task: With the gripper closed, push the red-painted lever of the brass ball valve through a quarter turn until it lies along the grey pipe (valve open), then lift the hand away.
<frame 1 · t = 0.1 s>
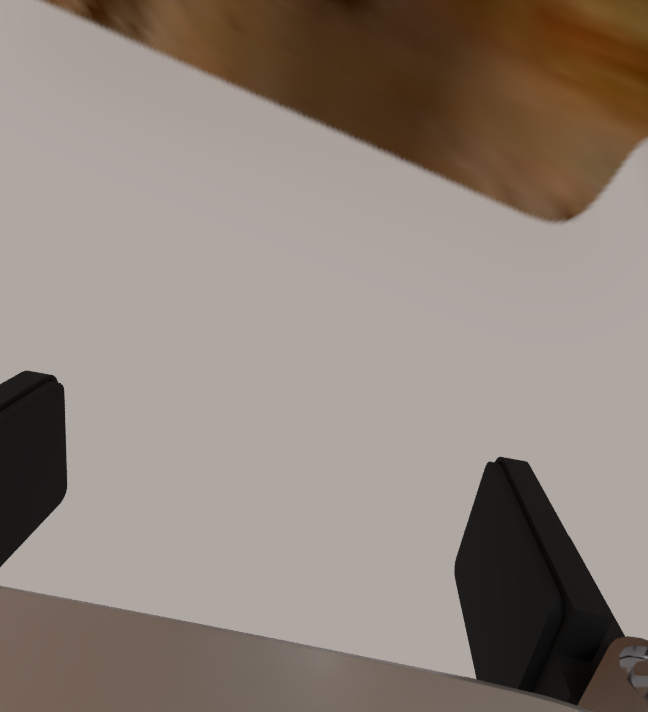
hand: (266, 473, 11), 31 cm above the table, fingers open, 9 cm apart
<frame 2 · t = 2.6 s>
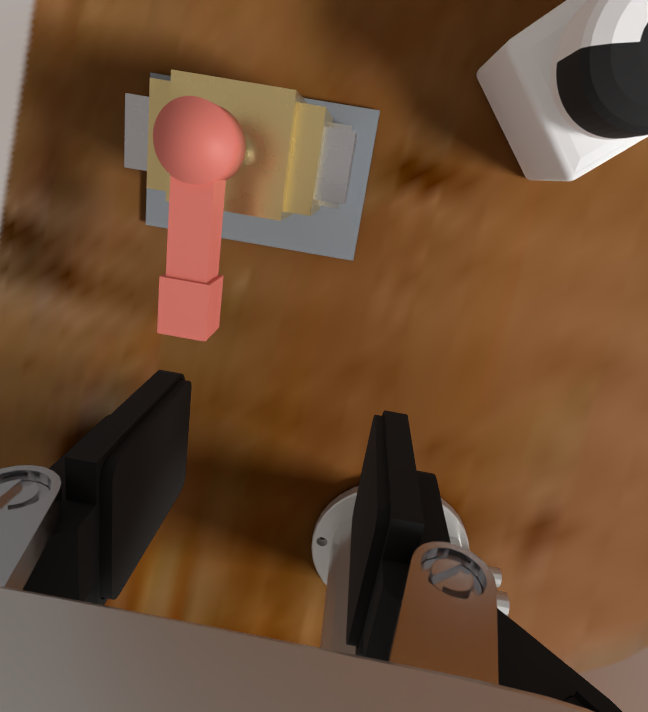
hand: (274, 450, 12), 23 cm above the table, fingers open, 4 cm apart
valve: (257, 153, 31), resting on mat
mat: (258, 170, 32), on the table
lever: (196, 224, 22), point 12 cm above the table, hinge at 0.0°
medicine bottle: (555, 93, 29), on the table
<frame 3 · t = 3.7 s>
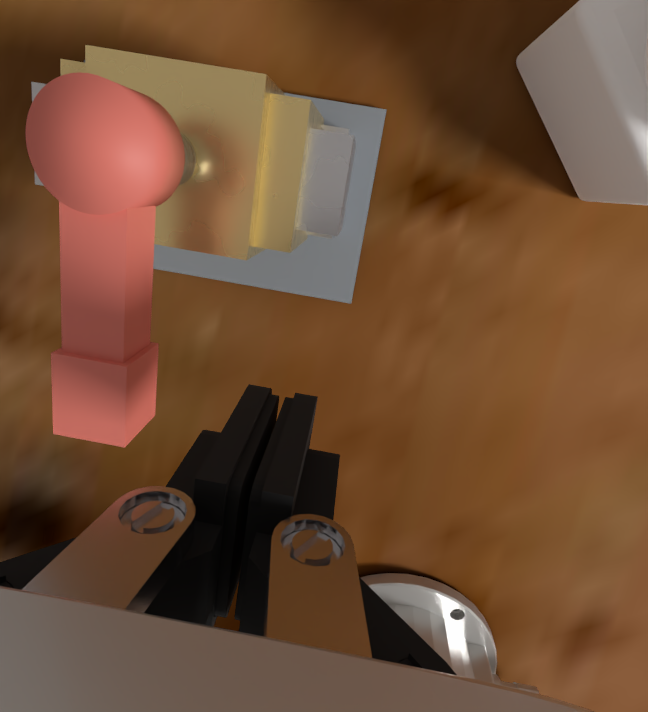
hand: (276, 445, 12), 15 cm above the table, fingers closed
valve: (226, 166, 24), resting on mat
mat: (227, 188, 24), on the table
lever: (109, 272, 14), point 12 cm above the table, hinge at 0.0°
medicine bottle: (621, 87, 22), on the table
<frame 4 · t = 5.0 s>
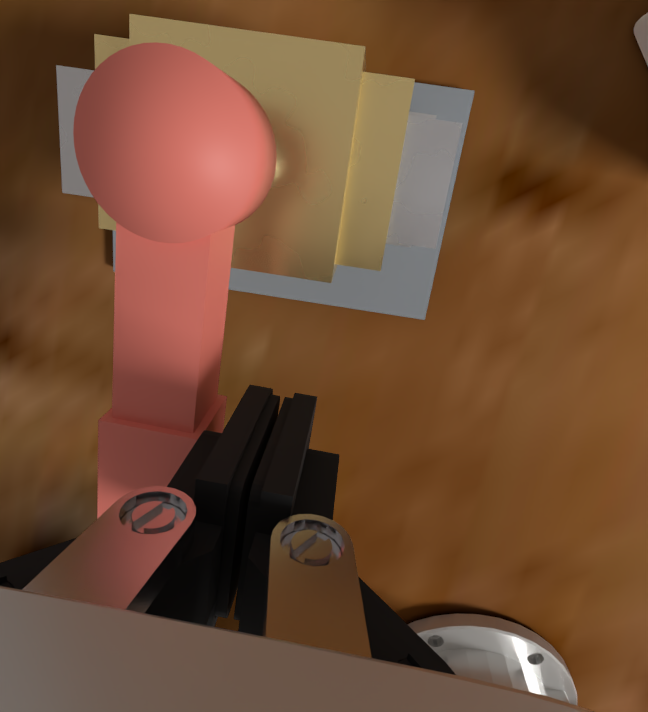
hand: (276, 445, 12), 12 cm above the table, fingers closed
valve: (280, 163, 20), resting on mat
mat: (280, 188, 21), on the table
lever: (174, 313, 11), point 12 cm above the table, hinge at -2.0°, touching gripper
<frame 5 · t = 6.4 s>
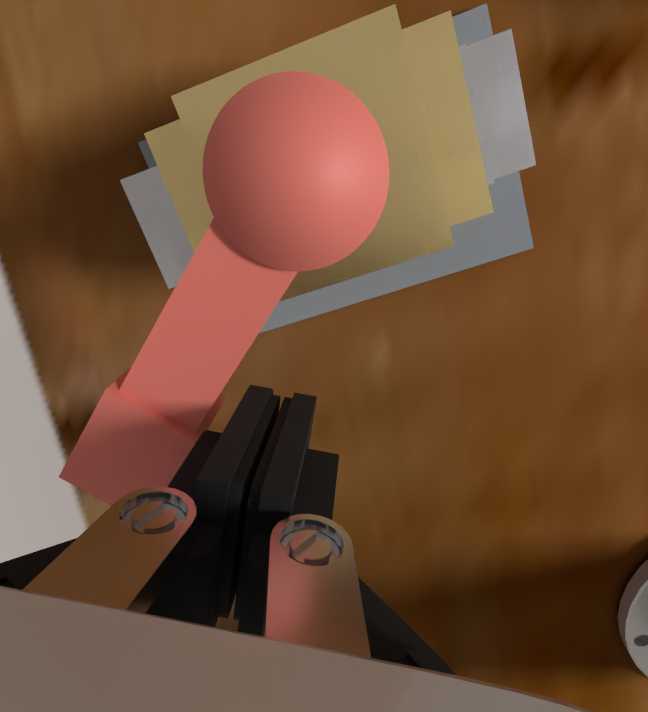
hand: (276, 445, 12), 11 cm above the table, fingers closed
valve: (330, 171, 20), resting on mat
mat: (338, 195, 21), on the table
lever: (219, 314, 11), point 12 cm above the table, hinge at -52.0°, touching gripper
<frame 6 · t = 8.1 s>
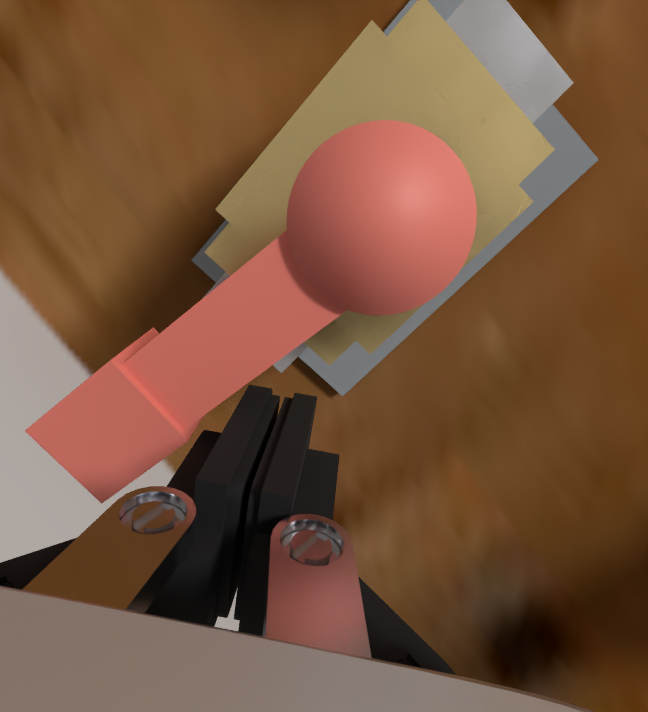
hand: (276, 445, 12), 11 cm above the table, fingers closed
valve: (365, 194, 20), resting on mat
mat: (382, 211, 21), on the table
lever: (247, 319, 10), point 12 cm above the table, hinge at -98.6°, touching gripper
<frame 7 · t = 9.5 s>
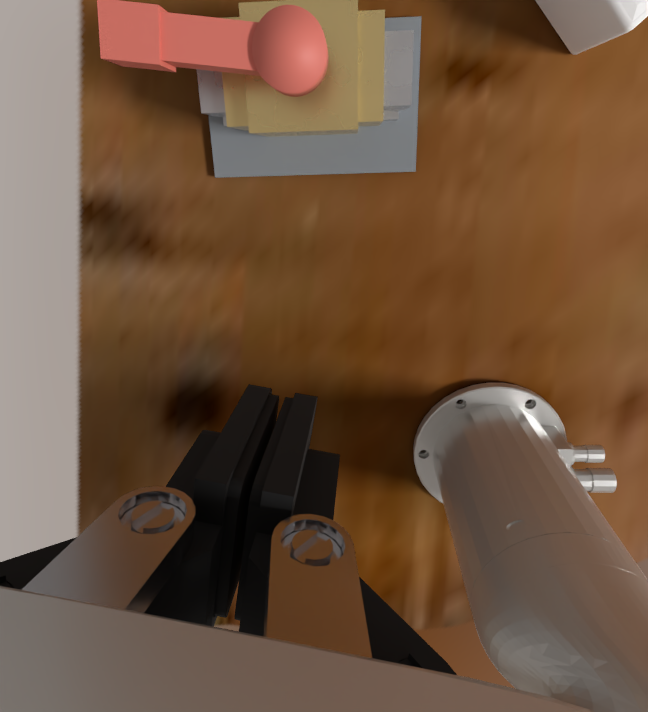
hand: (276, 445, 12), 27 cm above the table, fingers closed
valve: (310, 85, 32), resting on mat
mat: (312, 103, 33), on the table
lever: (218, 46, 22), point 12 cm above the table, hinge at -97.6°
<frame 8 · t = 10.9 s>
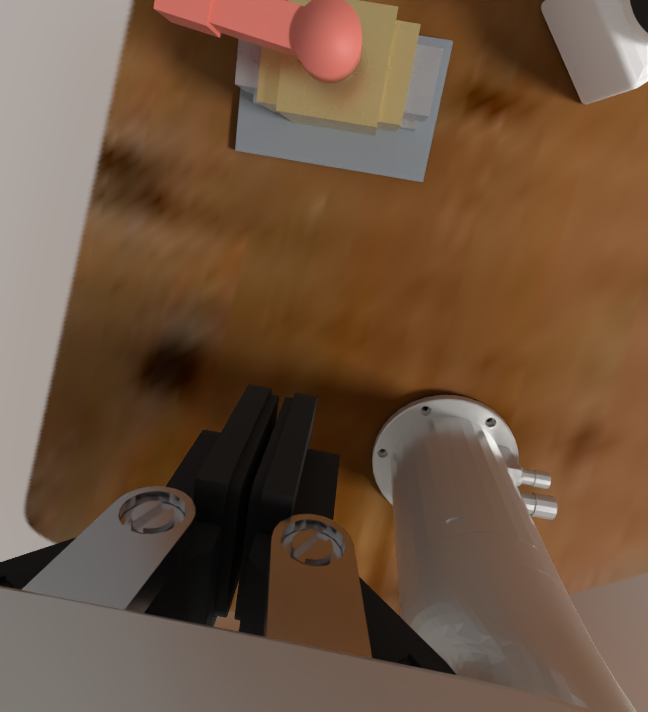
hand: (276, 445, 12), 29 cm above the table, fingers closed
valve: (341, 82, 34), resting on mat
mat: (339, 99, 35), on the table
lever: (263, 21, 24), point 12 cm above the table, hinge at -97.6°
medicine bottle: (610, 24, 33), on the table
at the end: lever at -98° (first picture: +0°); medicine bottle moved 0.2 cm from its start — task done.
